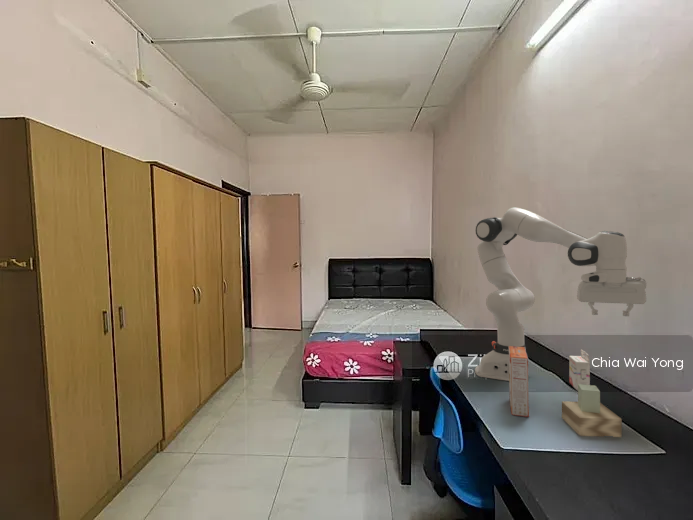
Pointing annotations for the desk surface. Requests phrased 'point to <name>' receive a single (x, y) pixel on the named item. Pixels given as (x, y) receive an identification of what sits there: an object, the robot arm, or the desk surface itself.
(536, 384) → the desk surface
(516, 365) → the cracker box
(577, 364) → the ink cartridge box
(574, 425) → the ash plinth
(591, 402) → the sage block
